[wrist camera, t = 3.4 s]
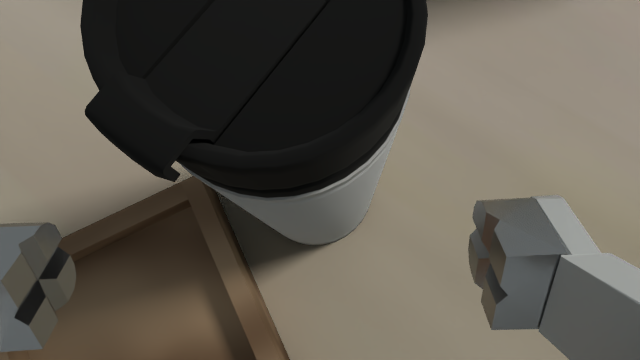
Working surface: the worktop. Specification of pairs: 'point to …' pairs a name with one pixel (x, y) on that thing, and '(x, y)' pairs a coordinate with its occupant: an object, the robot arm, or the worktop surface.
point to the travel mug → (259, 98)
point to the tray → (161, 287)
